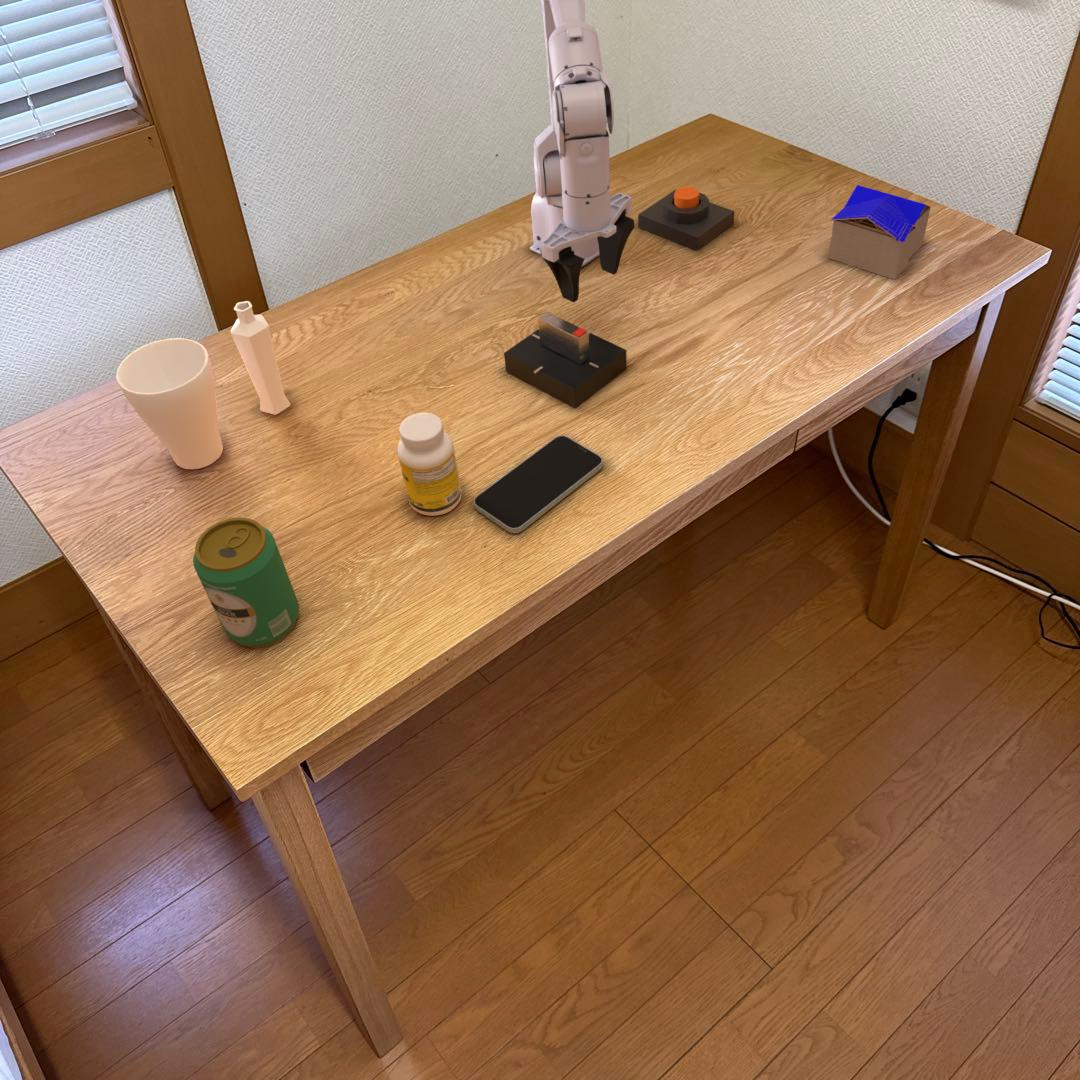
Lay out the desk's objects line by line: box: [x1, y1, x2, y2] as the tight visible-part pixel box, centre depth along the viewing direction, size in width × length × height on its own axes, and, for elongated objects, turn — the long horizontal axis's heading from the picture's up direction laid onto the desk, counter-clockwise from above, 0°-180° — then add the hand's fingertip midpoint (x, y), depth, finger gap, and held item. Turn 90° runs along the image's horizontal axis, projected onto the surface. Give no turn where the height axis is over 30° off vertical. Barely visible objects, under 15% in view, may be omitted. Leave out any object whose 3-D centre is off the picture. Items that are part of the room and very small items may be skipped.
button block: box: [637, 189, 735, 251], centre depth 155 cm, size 11×9×4 cm
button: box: [674, 186, 700, 209], centre depth 153 cm, size 4×4×2 cm
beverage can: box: [192, 517, 300, 648], centre depth 105 cm, size 8×8×12 cm
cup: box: [115, 337, 224, 470], centre depth 124 cm, size 10×10×14 cm
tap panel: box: [503, 328, 628, 409], centre depth 134 cm, size 12×11×3 cm
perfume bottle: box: [229, 300, 292, 416], centre depth 129 cm, size 5×4×15 cm
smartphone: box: [473, 435, 604, 534], centre depth 120 cm, size 7×1×15 cm
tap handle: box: [537, 311, 590, 365], centre depth 131 cm, size 7×2×4 cm, turn 46°
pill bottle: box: [396, 412, 463, 517], centre depth 116 cm, size 6×6×11 cm
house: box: [827, 184, 932, 280], centre depth 145 cm, size 10×11×8 cm
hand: (589, 284), depth 133 cm, fingers open, 7 cm apart
